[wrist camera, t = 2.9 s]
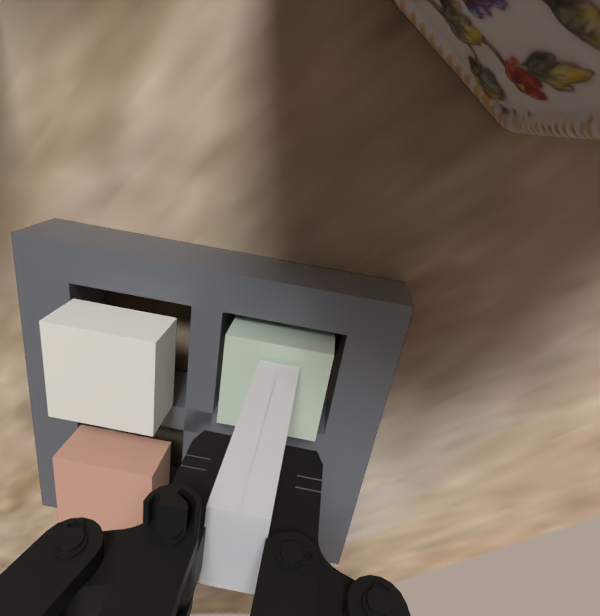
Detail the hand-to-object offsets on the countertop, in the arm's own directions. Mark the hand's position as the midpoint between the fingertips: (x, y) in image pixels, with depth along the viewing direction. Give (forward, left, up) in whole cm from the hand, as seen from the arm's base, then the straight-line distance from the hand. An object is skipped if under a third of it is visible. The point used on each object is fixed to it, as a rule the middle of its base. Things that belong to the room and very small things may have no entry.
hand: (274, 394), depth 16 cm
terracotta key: (-6, -6, -2) cm, 9 cm away
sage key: (0, 0, -3) cm, 3 cm away
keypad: (-3, -3, -4) cm, 6 cm away
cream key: (-6, 0, -2) cm, 6 cm away
